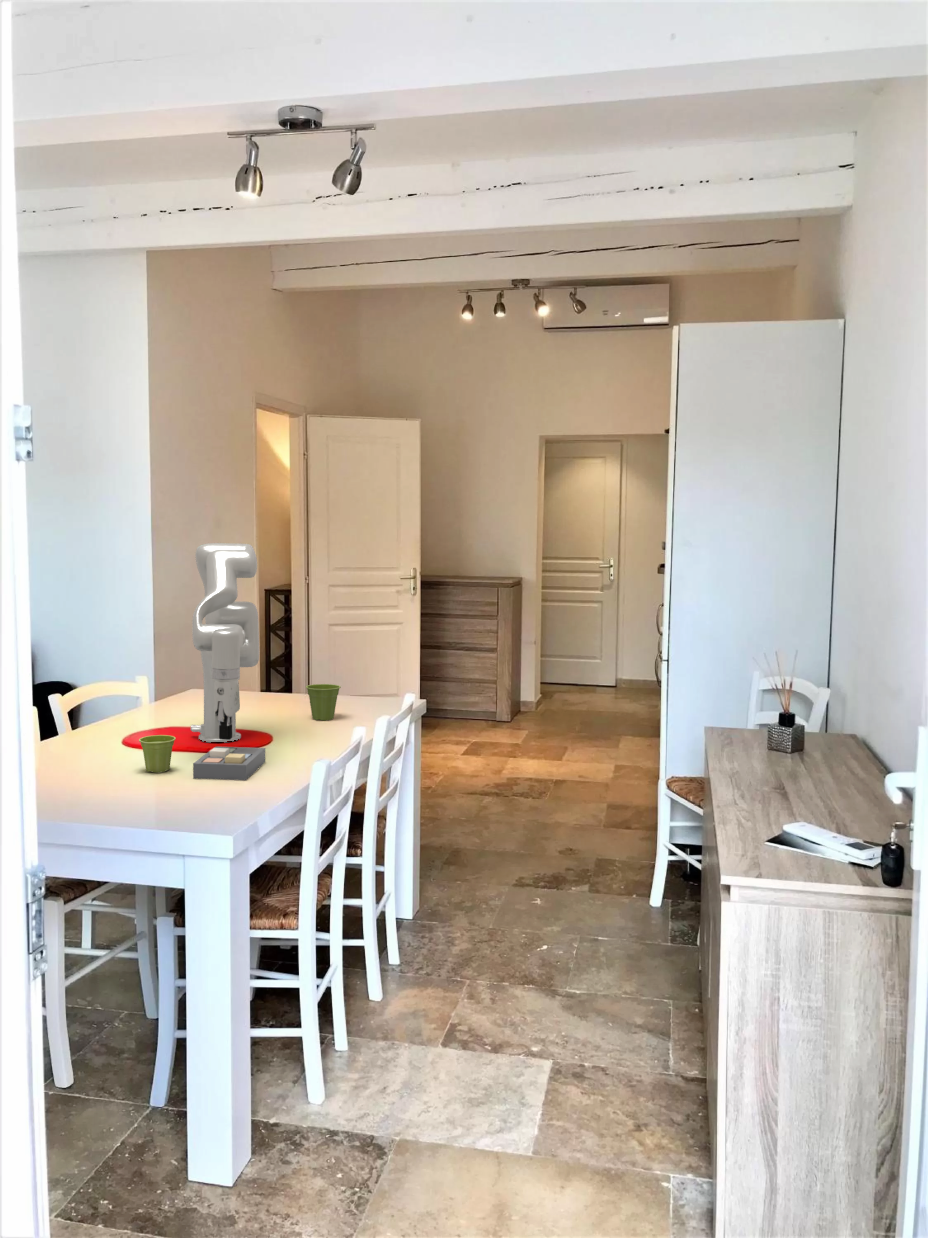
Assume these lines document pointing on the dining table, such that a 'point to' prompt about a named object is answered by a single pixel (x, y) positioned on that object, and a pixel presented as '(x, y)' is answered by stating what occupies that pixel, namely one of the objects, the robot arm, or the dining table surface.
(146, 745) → the plant pot
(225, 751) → the key cream
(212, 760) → the key terracotta
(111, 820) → the dining table surface
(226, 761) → the key ochre
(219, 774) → the keypad
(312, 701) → the plant pot
